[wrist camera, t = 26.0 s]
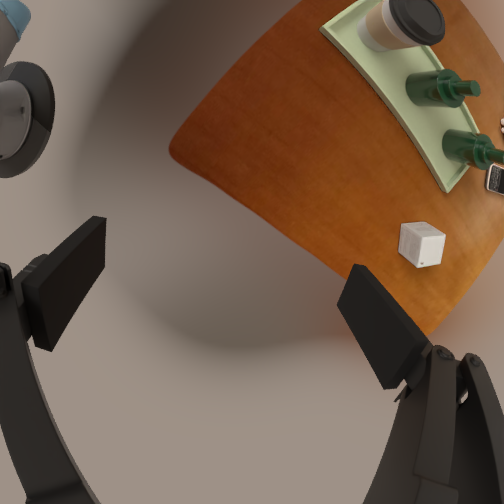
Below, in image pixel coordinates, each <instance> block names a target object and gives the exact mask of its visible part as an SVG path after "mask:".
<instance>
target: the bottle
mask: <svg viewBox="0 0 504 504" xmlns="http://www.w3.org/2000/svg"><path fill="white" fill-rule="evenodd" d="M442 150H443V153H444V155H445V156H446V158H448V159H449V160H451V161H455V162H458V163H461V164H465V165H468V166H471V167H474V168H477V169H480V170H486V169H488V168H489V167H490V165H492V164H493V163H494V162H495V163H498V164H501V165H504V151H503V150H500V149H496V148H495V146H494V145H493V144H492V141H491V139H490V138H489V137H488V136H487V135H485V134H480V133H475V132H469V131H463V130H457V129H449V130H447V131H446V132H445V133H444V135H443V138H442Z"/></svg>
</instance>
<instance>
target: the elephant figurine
mask: <svg viewBox="0 0 504 504" xmlns="http://www.w3.org/2000/svg"><path fill="white" fill-rule="evenodd" d="M501 124H502V125H503V126H504V118H503V119H502V120H501ZM501 131H502V133H504V128H502V129H501Z"/></svg>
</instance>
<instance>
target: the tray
mask: <svg viewBox="0 0 504 504" xmlns="http://www.w3.org/2000/svg"><path fill="white" fill-rule="evenodd" d="M381 1H382V0H358V1H357V2H355V3H354V4H352V5H351V6H349V7H348V8H347V9H345V10H344V11H342V12H341V13H339V14H338V15H337V16H335V17H334V18H333V19H331V20H330V21H329V22H327V23H326V24H325V25H323V26H322V27H321V28H320V29H319V31H320V32H321V33H322V34H323V35H324V36H325V37H327V38H328V39H329V40H330V41H331V42H332V43H333V44H334V45H335V46H336V47H337V48H338V50H339V51H340V52H341V53H342V54H343V55H344V56H345V57H346V58H347V59H348V60H349V61H350V62H351V63H352V64H353V66H354V67H355V68H356V69H357V70H358V71H359V72H360V73H361V75H362V76H363V77H364V78H365V79H366V80H367V82H368V83H369V84H370V85H371V86H372V88H373V89H374V90H375V91H376V93H377V94H378V95H379V96H380V98H381V99H382V100H383V101H384V103H385V104H386V105H387V107H388V108H389V109H390V111H391V112H392V113H393V115H394V116H395V117H396V119H397V120H398V122H399V123H400V124H401V126H402V127H403V129H404V130H405V132H406V133H407V134H408V136H409V137H410V139H411V140H412V142H413V143H414V145H415V147H416V148H417V150H418V151H419V153H420V154H421V156H422V158H423V159H424V161H425V163H426V164H427V166H428V168H429V169H430V171H431V173H432V174H433V176H434V178H435V180H436V181H437V183H438V185H439V187H440V189H441V190H442V191H444V192H446V193H449V191H450V190H451V189H452V188H453V187H454V185H455V184H456V183H457V182H458V181H459V179H460V178H461V177H462V176H463V174H464V173H465V172H466V171H467V169H468V168H469V167H470V166H468V165H465V164H461V163H458V162H455V161H451V160H449V159H448V158H446V156H445V155H444V153H443V150H442V138H443V135H444V133H445V132H446V131H447V130H449V129H457V130H463V131H469V132H475V133H480V132H479V130H478V128H477V126H476V124H475V122H474V120H473V118H472V116H471V114H470V112H469V110H468V108H467V106H466V104H465V102H464V101H463V103H462V104H461V106H459V107H457V108H444V107H420V106H417V105H415V104H414V103H413V102H412V101H411V100H410V99H409V97H408V95H407V93H406V89H405V83H406V79H407V77H408V76H409V75H410V74H412V73H417V72H424V71H432V70H440V69H444V67H443V66H442V64H441V63H440V61H439V60H438V58H437V57H436V55H435V54H434V53H433V51H432V50H431V48H430V47H429V46H425V45H423V46H419V47H412V48H405V49H398V50H389V51H383V52H378V51H374V50H372V49H370V48H368V47H367V46H366V45H365V44H364V43H363V42H362V41H361V40H360V38H359V36H358V33H357V24H358V22H359V21H360V20H361V19H362V18H363V17H364V16H366V15H367V13H368V12H369V11H370V10H371V9H372V8H374V7H375V6H376V5H377V4H379V3H380V2H381Z"/></svg>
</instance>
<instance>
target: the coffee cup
mask: <svg viewBox="0 0 504 504" xmlns="http://www.w3.org/2000/svg"><path fill="white" fill-rule="evenodd" d="M357 33H358V36H359V38H360V40H361V41H362V42H363V43H364V44H365V45H366V46H367V47H368V48H370V49H372V50H374V51H378V52H383V51H389V50H398V49H405V48H412V47H419V46H423V45H425V46H431V45H434V44H436V43H438V42H440V41H441V40H442V39H443V37H444V35H445V21H444V17H443V15H442V13H441V11H440V9H439V8H438V6H437V5H436V4H435V3H434V2H433V1H432V0H382V1H381V2H380V3H379V4H377V5H376V6H375V7H374V8H372V9H371V10H370V11H369V12H368V13H367V15H366V16H364V17H363V18H362V19H361V20H360V21H359V22H358V24H357Z"/></svg>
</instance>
